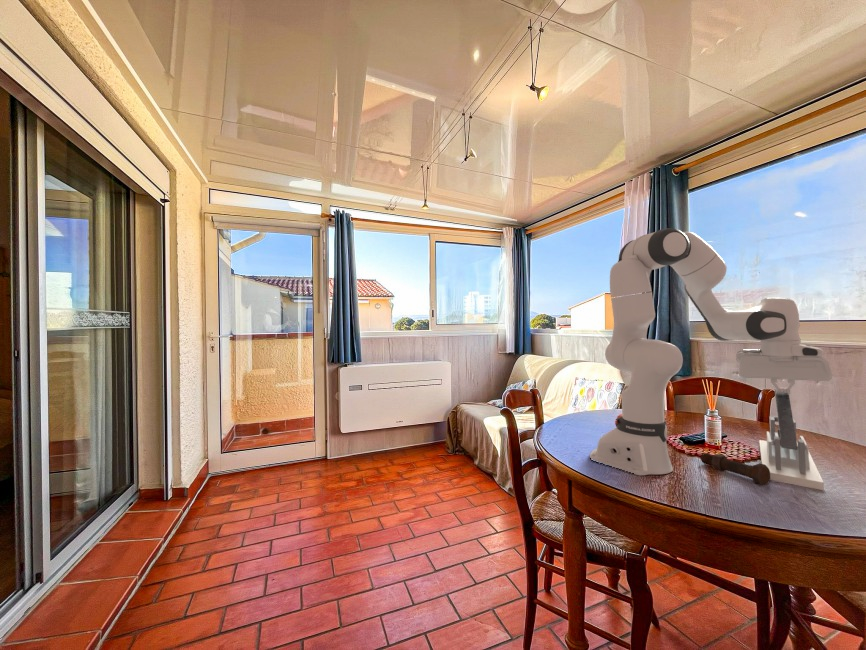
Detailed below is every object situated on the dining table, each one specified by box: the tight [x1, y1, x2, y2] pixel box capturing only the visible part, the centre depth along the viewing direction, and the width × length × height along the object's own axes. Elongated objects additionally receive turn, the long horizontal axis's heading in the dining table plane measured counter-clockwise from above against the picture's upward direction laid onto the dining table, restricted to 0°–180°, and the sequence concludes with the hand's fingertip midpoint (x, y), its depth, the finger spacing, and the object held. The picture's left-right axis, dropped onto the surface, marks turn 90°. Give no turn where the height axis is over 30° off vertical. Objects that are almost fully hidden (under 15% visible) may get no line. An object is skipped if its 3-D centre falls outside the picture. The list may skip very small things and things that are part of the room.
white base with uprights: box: [758, 415, 825, 491], centre depth 101 cm, size 11×32×11 cm, turn 137°
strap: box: [774, 388, 798, 450], centre depth 100 cm, size 3×24×1 cm
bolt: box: [700, 453, 771, 486], centre depth 97 cm, size 6×5×15 cm
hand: (783, 393), depth 106 cm, fingers closed, pressing on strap
